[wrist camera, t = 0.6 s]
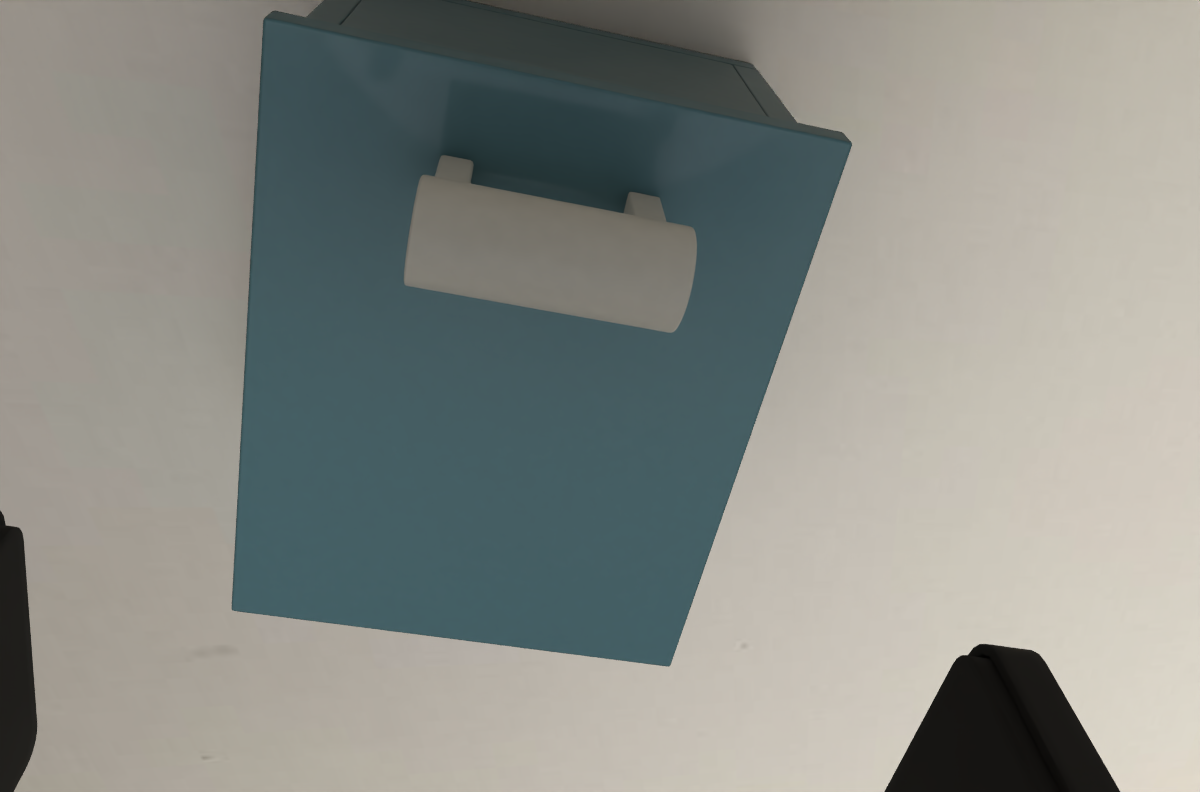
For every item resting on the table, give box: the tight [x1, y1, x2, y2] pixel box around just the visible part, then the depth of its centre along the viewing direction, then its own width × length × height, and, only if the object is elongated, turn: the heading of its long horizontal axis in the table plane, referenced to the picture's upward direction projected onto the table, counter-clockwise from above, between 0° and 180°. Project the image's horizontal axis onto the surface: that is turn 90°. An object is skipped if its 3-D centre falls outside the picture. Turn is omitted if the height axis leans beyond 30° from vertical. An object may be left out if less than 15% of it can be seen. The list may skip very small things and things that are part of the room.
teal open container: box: [306, 0, 797, 123], centre depth 29 cm, size 15×12×10 cm
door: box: [232, 11, 852, 666], centre depth 23 cm, size 15×12×5 cm
